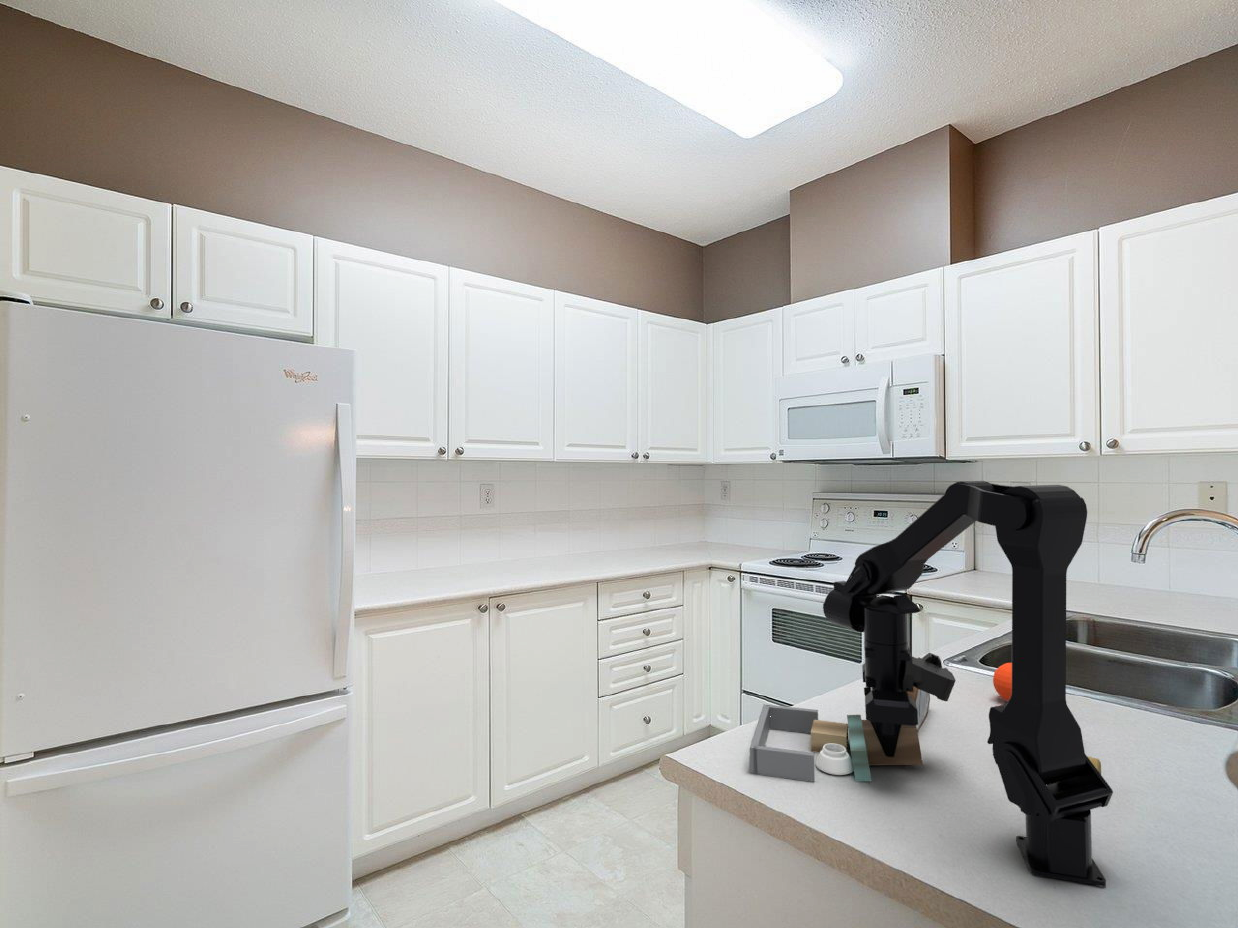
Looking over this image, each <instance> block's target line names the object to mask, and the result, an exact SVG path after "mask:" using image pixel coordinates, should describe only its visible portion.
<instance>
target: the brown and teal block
mask: <svg viewBox="0 0 1238 928" xmlns="http://www.w3.org/2000/svg"><path fill="white" fill-rule="evenodd" d="M846 719H847V724H848V740H849V747H850V755H851V760H852V762H853V768H854V771H853V773H854V779H855V782H872V775H871V771H870V769H871V768H870V766H907V765H908V766H915V765H916V766H918V765H920V766H921V765H924V764H923V763H924V762H923V757H922V751H921V745H920V739H919V733H918V731H917V727H916V725H915V726H910V725H902V726H901V729H900V733H899V738H898V742H897V746H896V751H895V755H894V757H887V756H885V753H884V751H883V749H882V747H881V744H880V742H879V740H878V737H877V735H876V733H875V731H874V728H873V726H872V724H871V722H870V721H869V720H866V719H862V715H861V714H847V715H846Z"/></svg>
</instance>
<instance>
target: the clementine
mask: <svg viewBox="0 0 1238 928" xmlns="http://www.w3.org/2000/svg"><path fill="white" fill-rule="evenodd" d="M992 683H993V688H994V689H995V692H996V693H997V694H998V695H999V697H1001V698H1002V699H1004V701H1006V702H1008V701H1009V699H1010V697H1011V693H1012V662H1006V663H1003V664H1002V665H1000V666H998V667H997V669H996V670H995V672H994V674H993V677H992Z"/></svg>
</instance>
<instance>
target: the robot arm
mask: <svg viewBox="0 0 1238 928" xmlns="http://www.w3.org/2000/svg"><path fill="white" fill-rule="evenodd" d="M1087 519H1088V508H1087V504H1086V501H1085V499H1084V498H1083V497H1081V496H1080V495H1079V493H1077V492H1076V491H1075V490H1074V489H1072V487H1071V488H1070V487H1069V486H1066V485H1061V484H1041V485H1037V484H1036V485H1035V484H1034V485H1016V486H1012V485H1004V484H998V483H992V482H989V481H985V480H964V481H963V480H961V481H957V482H954V483H952V484H951V485H949V486H948V487H947V488H946V490H945V492H944V494H943V495H941V497H940V498H939V499H937V500H936V501H935V502H934V503H933V504H932V505H931V506H930V507H928V508H927V509H926V510H925V511H924V512H923V513H921V515H919V516H918V517H917V518H916V519H915V520H913V522H912V523H910V524H909V526H907V527H906V528H905V529H904V530H902V531H901V533H899V534H898V535H897V536H896V537H895V538H892V539H891V540H889V541H886V542H884V543H881V544H878V545H876V546H873V547H871V548H869V549H868V550H866V551H863V552H862V553H860V554H859V555H858V556H857V557H856V559H855V562H854V567H853V569H852V571H851V572H850V575H849V576H848V579H846V581H844V580H840V581H834V582H833V589H832V590H831V591H829V592H828V594H827V595H826V597H825V599H824V602H823V605H822V609H823V611H822V612H823V615H824V616H825V618H826V619H827V621H828V622H829V623H831V624H834V625H837V626H840V627H843V628H846V629H849V630H851V631H855V632H858V633H864V634H863V635H864V638H863V639H864V641H863V647H864V648H863V649H864V663H863V664H862V665H861V668H862V669H861V670H862V672H861V673H862V683H865V687H863V693H864V707H865V711H864V712H865V720H869V721H870V722H871V724H872V726H873V728H874V731H875V733H876V735H877V737H878V740H879V742H880V744H881V747H882V749H883V751H884V753H885V756H887V757H894V755H895V751H896V746H897V742H898V738H899V733H900V729H901V726H902V725H910V726H915V725H918V710H917V706H916V703H915V701H914V700H913V699H912V698H911V697H910V696H909V695H908V692H913V686H914V687H916V688H917V689H920V690H922V691H924V692H927V693H929V694H930V695H932V696H934V697H936V698H937V699H938V700H939V701H943V702H948V701H949V698H950V695H951V693H952V690H953V688H954V685H955V683H956V678H955V676H954V675H953V673H952V672H951V671H950V670H949V669H948V668H947V667H943V664H942V660H941V657H940V656H939V655H937V654H934V653H931V652H927V654H925V655H924V656H923V657H919V656H918V657H915V656H913V655H912V653H911V650H910V647H909V640H908V639H909V635H908V634H909V632H908V627H909V625H908V615H909V614H917V613H920V607H918V605H917V604H916V603H915V602H913V601H912V600H911V598H910V597H909V595H908V594H907V593H906V594H905V593H904V594H896V595H893V597H892V596H889V595H890V594H894V593H895V592H901V591H902V592H903V591H908V590H909V589H911V588H912V587H913V586H914V584H915V583H916V582H917V581H918V580H919V578H920V577H921V576H922V575H923V573H924V565H925V564H926V563H927V561H928V560H929V559H930V558H931V557H932V556H934V555H936V553H938V552H939V551H940V550H942V549H943V548H944V547H945V546H947V545H948V544H949V543H951V541H953V540H954V539H955V538H957V537H958V536H959V535H960V534H962V533H963V532H964V531H965V530H967V529H968V528H970V527H971V526H972V525H973V524H974V523H976V522H978V523H981V524H986V525H990V526H994V528H995V532H996V533H995V535H996V541H997V543H998V545H999V546H1000V548H1001V550H1002V552H1003V553H1004V555H1005V557H1007V560H1008V561H1009V563H1010V566H1011V663H1012V693H1011V697H1010V699H1009V701H1006V702H1007V703H1006V704H1001V705H995V706H991V707H990V709H989V712H988V721H989V727H990V728H989V730H990V731H989V736H988V739H987V744H988V745H992V750H991V751H992V755H993V759H994V762H995V764H996V765H997V768H998V770H999V771H998V772H999V774H1000V777H1001V780H1002V781H1001V782H1002V783H1003V784H1002V785H1003V787H1004V790H1005V793H1006V796H1007V799H1008V801H1009V803H1011V804H1013V805H1016V806H1017V807H1018V808H1019V809H1020V812H1022V813H1023V814H1025V836H1023V835H1018V836H1016V837H1015V841H1016V844H1017V846H1018V848H1019V850H1020V852H1021V854H1022V856H1023V859H1024V861H1025V864H1026V865H1027V867H1028V869H1029V871H1030V872H1031V874H1033V875H1036V876H1039V877H1040V876H1041V877H1046V878H1047V877H1048V878H1052V879H1053V878H1054V879H1060V880H1065V881H1071V882H1077V883H1084V884H1090V885H1095V886H1101V887H1105V886H1106V885H1107V879H1106V878H1105V876H1104V874H1103V873H1102V871H1101V870H1100V867H1098V865H1097V863H1096V862H1095V861H1094V858H1093V849H1092V848H1093V847H1092V843H1093V841H1092V817H1091V816H1092V811H1091V810H1094V809H1098V808H1106V807H1108V805H1109V803H1110V800H1111V798H1112V797H1113V793H1114V791H1113V789H1112V788H1111V786H1110V785H1109V783H1108V782H1107V781H1106V780H1105V778H1104V776H1103V775H1102V773H1101V774H1100V773H1099V772H1098V770H1097V769H1096V768H1095V766H1094V765H1093V764H1092V762H1091V761H1090V760H1089V758H1088V757H1089V756H1088V755H1086V753H1085V752H1086V751H1085V747H1084V746H1085V745H1084V740H1083V733H1082V729H1081V727H1080V725H1079V723H1078V721H1077V719H1076V717H1075V716H1074V714H1073V713H1072V711H1071V709H1070V708H1069V706H1068V704H1067V683H1066V682H1067V680H1066V679H1067V573H1068V568H1069V566H1070V565H1071V563H1072V562H1073V560H1074V558H1075V556H1076V554H1077V552H1078V551H1079V549H1080V547H1081V546H1082V544H1083V540H1084V534H1085V530H1086V524H1087ZM888 594H889V595H888ZM879 595H880V596H879ZM1087 756H1088V757H1087ZM1056 782H1058V783H1056Z"/></svg>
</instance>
